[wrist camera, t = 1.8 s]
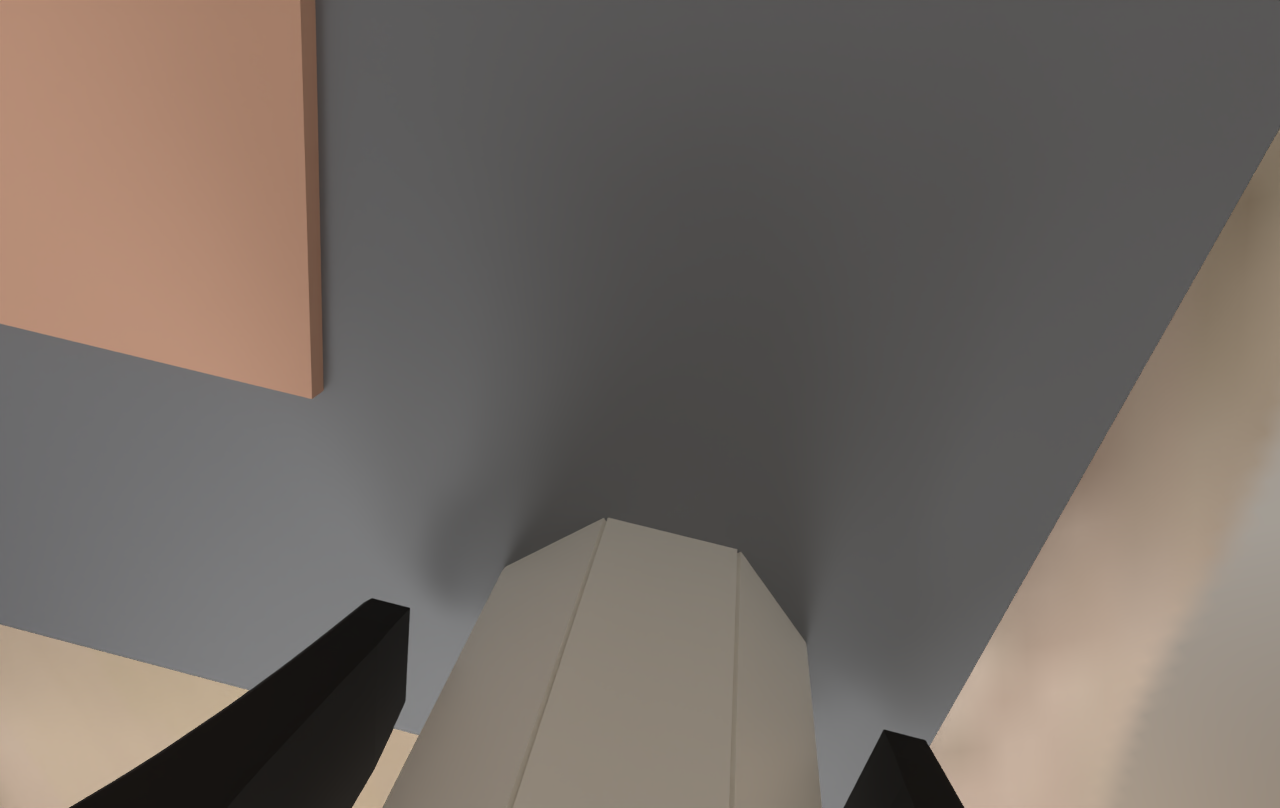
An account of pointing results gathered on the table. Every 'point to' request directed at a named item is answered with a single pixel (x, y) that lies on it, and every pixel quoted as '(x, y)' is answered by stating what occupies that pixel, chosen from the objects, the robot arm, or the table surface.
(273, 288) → the terracotta pad
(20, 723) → the table surface
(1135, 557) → the table surface
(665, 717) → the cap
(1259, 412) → the table surface
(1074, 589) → the table surface
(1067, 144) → the base board
